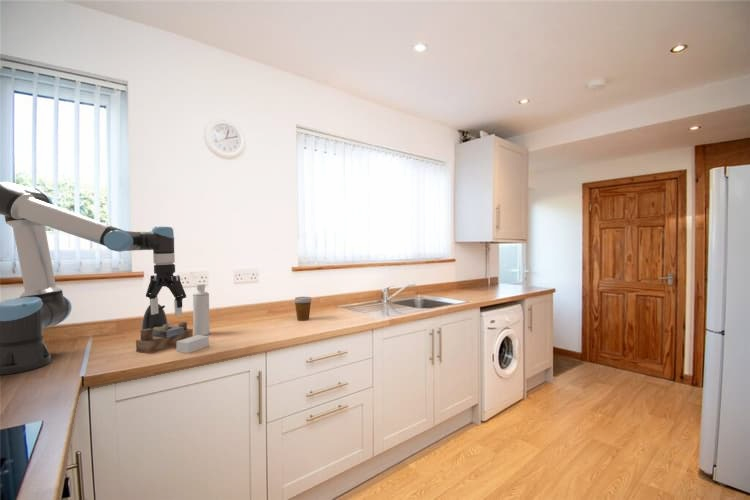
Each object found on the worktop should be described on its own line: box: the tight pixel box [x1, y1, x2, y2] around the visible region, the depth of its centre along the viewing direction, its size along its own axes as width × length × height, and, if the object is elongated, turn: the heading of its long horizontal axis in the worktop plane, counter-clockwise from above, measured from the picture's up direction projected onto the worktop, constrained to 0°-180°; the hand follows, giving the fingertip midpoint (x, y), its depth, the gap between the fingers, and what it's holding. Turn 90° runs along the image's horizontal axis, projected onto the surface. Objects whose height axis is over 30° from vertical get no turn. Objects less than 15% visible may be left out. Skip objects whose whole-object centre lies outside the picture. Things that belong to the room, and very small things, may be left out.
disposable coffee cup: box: [293, 296, 312, 322], centre depth 187 cm, size 10×10×12 cm
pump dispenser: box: [141, 303, 169, 330], centre depth 155 cm, size 10×10×15 cm
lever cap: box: [152, 325, 184, 338], centre depth 141 cm, size 8×11×4 cm
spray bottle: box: [192, 283, 211, 336], centre depth 158 cm, size 7×7×25 cm
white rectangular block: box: [175, 335, 210, 354], centre depth 136 cm, size 10×6×4 cm, turn 160°
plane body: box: [135, 321, 194, 354], centre depth 141 cm, size 20×7×8 cm, turn 160°
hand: (166, 314), depth 141 cm, fingers open, 13 cm apart
